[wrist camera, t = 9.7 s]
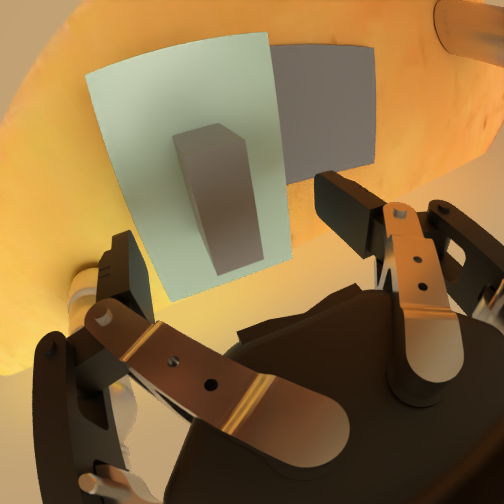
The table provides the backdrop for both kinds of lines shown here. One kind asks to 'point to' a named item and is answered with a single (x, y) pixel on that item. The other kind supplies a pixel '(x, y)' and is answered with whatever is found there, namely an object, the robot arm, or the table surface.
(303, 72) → the rubber mat
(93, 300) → the plastic bottle
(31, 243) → the table surface
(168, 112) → the lid
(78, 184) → the table surface
